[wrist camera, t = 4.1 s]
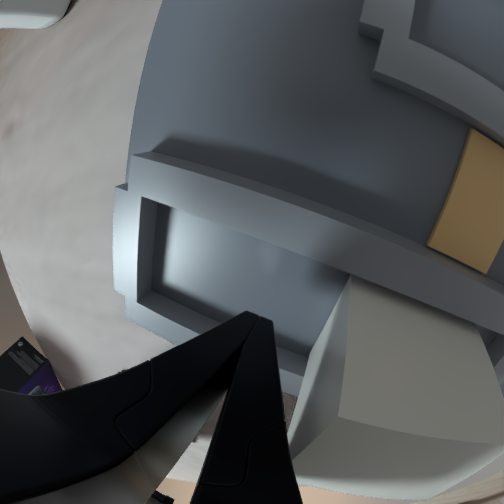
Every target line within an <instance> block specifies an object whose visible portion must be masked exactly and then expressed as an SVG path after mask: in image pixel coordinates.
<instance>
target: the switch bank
mask: <svg viewBox="0 0 504 504" xmlns="http://www.w3.org/2000/svg"><path fill="white" fill-rule="evenodd" d="M350 274H353V275H355V276H358V277H360V278H363V279H366V280H368V281H371V282H373V283H376V284H378V285H381V286H383V287H386V288H389V289H391V290H394V291H396V292H399V293H401V294H404V295H406V296H409V297H411V298H414V299H416V300H419V301H421V302H424V303H426V304H429V305H431V306H434V307H436V308H439V309H441V310H444V311H446V312H448V313H451V314H453V315H456V316H458V317H461V318H463V319H466V320H468V321H470V322H473V323H475V325H476V327H477V329H478V331H479V333H480V336H481V338H482V340H483V343H484V345H485V347H486V350H487V352H488V355H489V357H490V360H491V362H492V365H493V368H494V370H495V373H496V376H497V379H498V382H499V385H500V388H501V391H502V394H503V397H504V0H163V1H162V4H161V7H160V10H159V13H158V17H157V20H156V23H155V26H154V30H153V33H152V36H151V40H150V44H149V47H148V51H147V55H146V59H145V63H144V67H143V72H142V76H141V81H140V85H139V90H138V95H137V101H136V106H135V112H134V117H133V124H132V130H131V137H130V144H129V152H128V161H127V170H126V180H125V183H124V184H121V185H119V186H116V187H115V191H114V210H113V277H114V290H115V291H117V292H119V293H121V294H122V295H124V296H125V307H126V318H127V319H129V320H131V321H133V322H134V323H136V324H138V325H140V326H141V327H143V328H145V329H147V330H149V331H150V332H152V333H154V334H156V335H158V336H160V337H162V338H163V339H165V340H167V341H169V342H171V343H173V344H175V345H177V346H178V345H180V344H182V343H184V342H186V341H188V340H190V339H192V338H194V337H196V336H198V335H200V334H202V333H204V332H206V331H208V330H210V329H212V328H214V327H215V326H217V325H219V324H221V323H223V322H225V321H227V320H229V319H231V318H232V317H234V316H236V315H238V314H240V313H242V312H244V311H250V312H252V313H255V314H257V315H259V316H263V317H265V318H268V319H270V320H272V321H273V323H274V331H275V339H276V347H277V355H278V363H279V371H280V380H281V388H282V392H285V393H288V394H291V395H294V396H296V397H298V396H299V393H300V389H301V385H302V382H303V378H304V374H305V370H306V367H307V363H308V359H309V355H310V352H311V350H312V348H313V346H314V344H315V343H316V341H317V339H318V337H319V335H320V333H321V332H322V330H323V328H324V326H325V324H326V322H327V320H328V318H329V317H330V315H331V313H332V311H333V309H334V307H335V305H336V303H337V301H338V299H339V297H340V295H341V293H342V291H343V289H344V287H345V285H346V283H347V280H348V278H349V276H350Z"/></svg>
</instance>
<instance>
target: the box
mask: <svg viewBox="0 0 504 504" xmlns="http://www.w3.org/2000/svg"><path fill="white" fill-rule="evenodd" d="M0 389H2V390H6V391H11V392H16V393H21V394H26V395H44V394H51V393H55V392H59V391H63V390H62V388H61V386H60V384H59V382H58V380H57V377H56V375H55V373H54V371H53V369H52V366H51V364H50V362H49V360H47V359H46V358H45V357H44V356H43V355H42V354H40V353H39V352H38V351H37V350H36V349H35V348H34V347H33V346H32V345H30V343H29V342H28V341H26V339H25V338H23V337H21V338H20V339H19V340H18V341H17V342H15V343H14V344H13V345H12V346H11V347H10V348H9V349H8V350H6V351H5V352H4V353H3V354H2V355H1V356H0Z"/></svg>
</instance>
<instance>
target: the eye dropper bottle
mask: <svg viewBox="0 0 504 504" xmlns="http://www.w3.org/2000/svg"><path fill="white" fill-rule="evenodd" d="M70 1H71V0H0V28H32V29H41V28H45V27H48V26H50V25H52V24H54V23H56V22H57V21H59V20H60V19H61V18H62V17H63V16H64V14H65V12H66V10H67V8H68V6H69V3H70Z"/></svg>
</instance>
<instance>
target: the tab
mask: <svg viewBox="0 0 504 504" xmlns="http://www.w3.org/2000/svg"><path fill="white" fill-rule="evenodd" d="M287 437H288V443H289V450H290V455H291V460H292V464H293V468H294V473H295V476H296V480H297V483H299V484H303V485H307V486H311V487H315V488H320V489H325V490H330V491H335V492H340V493H346V494H353V495H360V496H367V497H376V498H387V499H404V500H427V499H429V498H431V497H433V496H435V495H437V494H439V493H441V492H443V491H444V490H447V489H449V488H450V487H452V486H454V485H456V484H458V483H459V482H461V481H462V480H464V479H466V478H467V477H469V476H471V475H472V474H474V473H476V472H477V471H479V470H480V469H482V468H483V467H485V466H486V465H488V464H489V463H491V462H492V461H494V460H495V459H496V458H498V457H499V456H500V455H502V454H503V453H504V397H503V394H502V391H501V388H500V385H499V382H498V379H497V376H496V373H495V370H494V368H493V365H492V362H491V360H490V357H489V355H488V352H487V350H486V347H485V345H484V343H483V340H482V338H481V336H480V333H479V331H478V329H477V327H476V325H475V323H473V322H470V321H468V320H466V319H463V318H461V317H458V316H456V315H453V314H451V313H448V312H446V311H444V310H441V309H439V308H436V307H434V306H431V305H429V304H426V303H424V302H421V301H419V300H416V299H414V298H411V297H409V296H406V295H404V294H401V293H399V292H396V291H394V290H391V289H389V288H386V287H383V286H381V285H378V284H376V283H373V282H371V281H368V280H366V279H363V278H360V277H358V276H355V275H353V274H350V276H349V278H348V280H347V283H346V285H345V287H344V289H343V291H342V293H341V295H340V297H339V299H338V301H337V303H336V305H335V307H334V309H333V311H332V313H331V315H330V317H329V318H328V320H327V322H326V324H325V326H324V328H323V330H322V332H321V333H320V335H319V337H318V339H317V341H316V343H315V344H314V346H313V348H312V350H311V352H310V355H309V359H308V363H307V367H306V370H305V374H304V378H303V382H302V385H301V389H300V393H299V396H298V400H297V403H296V407H295V410H294V413H293V417H292V420H291V423H290V426H289V430H288V433H287Z"/></svg>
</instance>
